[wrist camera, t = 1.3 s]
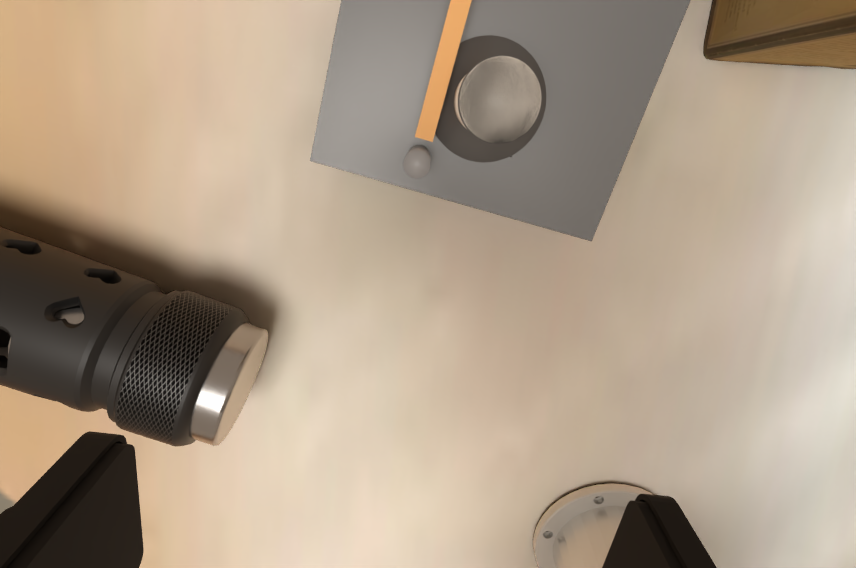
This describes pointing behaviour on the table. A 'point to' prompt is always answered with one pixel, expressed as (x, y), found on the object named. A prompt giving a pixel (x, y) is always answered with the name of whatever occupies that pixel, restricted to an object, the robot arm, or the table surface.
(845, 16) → the food packaging
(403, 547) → the table surface
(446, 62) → the orange peg
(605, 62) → the plate
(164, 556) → the table surface
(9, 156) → the table surface
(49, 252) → the muzzle brake
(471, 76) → the plug
